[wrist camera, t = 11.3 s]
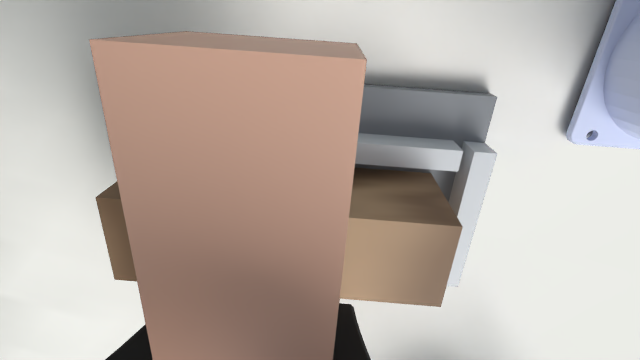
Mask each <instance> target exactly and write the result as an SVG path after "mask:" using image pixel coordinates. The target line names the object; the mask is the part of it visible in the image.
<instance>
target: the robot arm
mask: <svg viewBox="0 0 640 360" xmlns="http://www.w3.org/2000/svg"><path fill="white" fill-rule="evenodd" d="M592 130H593V133H592V135H591V136H590V137H588V138H586V135H587V134H588V132H590V131H592ZM566 137H567V139H568V140H569V141H570V142H572V143H574V144H579V145H592V146H605V147H618V148H631V149H640V0H616V2H615V4H614V7H613V10H612V12H611V15H610V18H609V20H608V23H607V26H606V28H605V31H604V34H603V36H602V39H601V42H600V44H599V47H598V50H597V52H596V55H595V58H594V60H593V63H592V66H591V68H590V71H589V74H588V76H587V79H586V82H585V84H584V87H583V90H582V92H581V95H580V98H579V100H578V103H577V106H576V108H575V111H574V114H573V116H572V119H571V122H570V124H569V127H568V130H567V133H566ZM105 360H153V358H152V353H151V348H150V343H149V338H148V333H147V328H146V324H145V325H144V326H143V327H142V328H141V329H140V330H139V331H138V332H136V333H135V334H134V335H133V336H132V337H131V338H130V339H129V340H128V341H126V342H125V343H124V344H123V345H122V346H121V347H120V348H119V349H117V350H116V351H115V352H114V353H113V354H111V355H110V356H109V357H108V358H107V359H105ZM333 360H371V359H370V356H369V354H368V352H367V349H366V346H365V344H364V341H363V338H362V335H361V332H360V329H359V326H358V323H357V320H356V316H355V312H354V307H353V306H352V305H351V304H340V303H339V309H338V317H337V326H336V335H335V344H334V353H333Z"/></svg>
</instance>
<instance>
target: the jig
mask: <svg viewBox="0 0 640 360" xmlns="http://www.w3.org/2000/svg"><path fill="white" fill-rule="evenodd" d="M496 99H497V97H496V96H494V95H492V94H490V93H477V92H463V91H450V90H436V89H423V88H410V87H396V86H383V85H369V84H364V88H363V97H362V106H361V115H360V124H359V132H358V141H357V150H356V159H355V167H356V168H369V169H382V170H395V171H408V172H421V173H431V174H432V176H433V177H434V179H435V181H436V182H437V184H438V186H439V187H440V189H441V191H442V193H443V194H444V196H445V198H446V199H447V201H448V203H449V204H450V206H451V208H452V209H453V211H454V213H455V214H456V216H457V218H458V220H459V221H460V223H461V225H462V226H463V228H462V232H461V235H460V239H459V242H458V246H457V250H456V253H455V257H454V260H453V264H452V268H451V271H450V275H449V279H448V282H447V286H455V287H458V285H459V281H460V278H461V274H462V271H463V268H464V264H465V261H466V258H467V254H468V251H469V247H470V244H471V241H472V237H473V234H474V231H475V227H476V224H477V220H478V217H479V214H480V210H481V207H482V204H483V200H484V197H485V193H486V190H487V187H488V183H489V180H490V177H491V173H492V170H493V166H494V163H495V160H496V156H497V153H496V152H495V151H494V150H492V149H491V148H490V147H489V146H488V145H487V144H485V139H486V136H487V132H488V128H489V125H490V121H491V118H492V114H493V110H494V107H495V103H496Z"/></svg>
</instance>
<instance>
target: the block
mask: <svg viewBox="0 0 640 360" xmlns="http://www.w3.org/2000/svg"><path fill="white" fill-rule="evenodd" d="M89 41H90V46H91V51H92V56H93V61H94V66H95V71H96V76H97V81H98V86H99V91H100V96H101V101H102V106H103V111H104V116H105V121H106V126H107V131H108V137H109V142H110V147H111V152H112V157H113V162H114V167H115V172H116V177H117V182H118V187H119V192H120V197H121V202H122V207H123V212H124V217H125V222H126V227H127V232H128V237H129V242H130V247H131V252H132V257H133V262H134V267H135V273H136V278H137V283H138V288H139V293H140V298H141V303H142V308H143V313H144V318H145V323H146V328H147V333H148V338H149V343H150V348H151V353H152V358H153V360H333V353H334V344H335V335H336V326H337V317H338V309H339V300H340V291H341V282H342V273H343V265H344V256H345V247H346V238H347V229H348V221H349V212H350V203H351V194H352V185H353V176H354V168H355V159H356V150H357V141H358V132H359V124H360V115H361V106H362V97H363V88H364V80H365V71H366V62H367V59H366V58H365V56H364V54H363V53H362V51H361V49H360V48H359V46H358V45H357V43H343V42H329V41H315V40H301V39H287V38H273V37H259V36H245V35H231V34H217V33H202V32H188V31H185V32H173V33H161V34H149V35H137V36H125V37H113V38H101V39H90V40H89Z"/></svg>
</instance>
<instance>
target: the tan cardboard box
mask: <svg viewBox="0 0 640 360" xmlns="http://www.w3.org/2000/svg"><path fill="white" fill-rule="evenodd" d="M96 201H97V206H98V210H99V214H100V218H101V223H102V227H103V231H104V236H105V240H106V244H107V249H108V253H109V257H110V261H111V266H112V270H113V274H114V279H115V280H127V281H137V278H136V273H135V267H134V262H133V257H132V252H131V247H130V242H129V237H128V232H127V227H126V222H125V217H124V212H123V207H122V202H121V197H120V192H119V187H118V182H116V183H114V184H113V185H112V186H110V187H109V188H108V189H106V190H105V191H104V192H102V193H101V194H100V195H98V196H97V197H96ZM462 228H463V226H462V225H461V223H460V221H459V220H458V218H457V216H456V214H455V213H454V211H453V209H452V208H451V206H450V204H449V203H448V201H447V199H446V198H445V196H444V194H443V193H442V191H441V189H440V187H439V186H438V184H437V182H436V181H435V179H434V177H433V176H432V174H431V173H421V172H408V171H395V170H382V169H369V168H356V167H355V168H354V176H353V185H352V194H351V203H350V212H349V221H348V229H347V238H346V247H345V256H344V265H343V273H342V282H341V291H340V298H341V299H353V300H365V301H377V302H389V303H401V304H413V305H424V306H436V307H441V304H442V300H443V297H444V293H445V289H446V286H447V282H448V279H449V275H450V271H451V268H452V264H453V260H454V257H455V253H456V250H457V246H458V242H459V239H460V235H461V232H462Z"/></svg>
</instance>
